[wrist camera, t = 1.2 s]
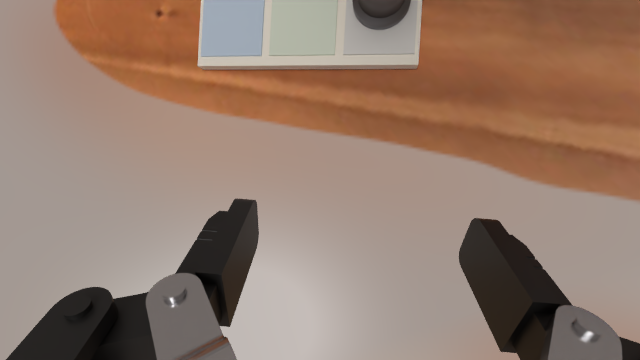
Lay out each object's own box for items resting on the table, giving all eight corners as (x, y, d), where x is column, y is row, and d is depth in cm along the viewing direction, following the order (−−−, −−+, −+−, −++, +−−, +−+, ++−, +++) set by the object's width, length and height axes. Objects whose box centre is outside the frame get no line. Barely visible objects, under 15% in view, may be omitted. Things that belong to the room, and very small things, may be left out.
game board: (209, -39, 30) (202, -48, 29) (423, -54, 27) (426, -65, 26) (203, 69, 30) (196, 65, 29) (416, 68, 27) (418, 63, 26)
